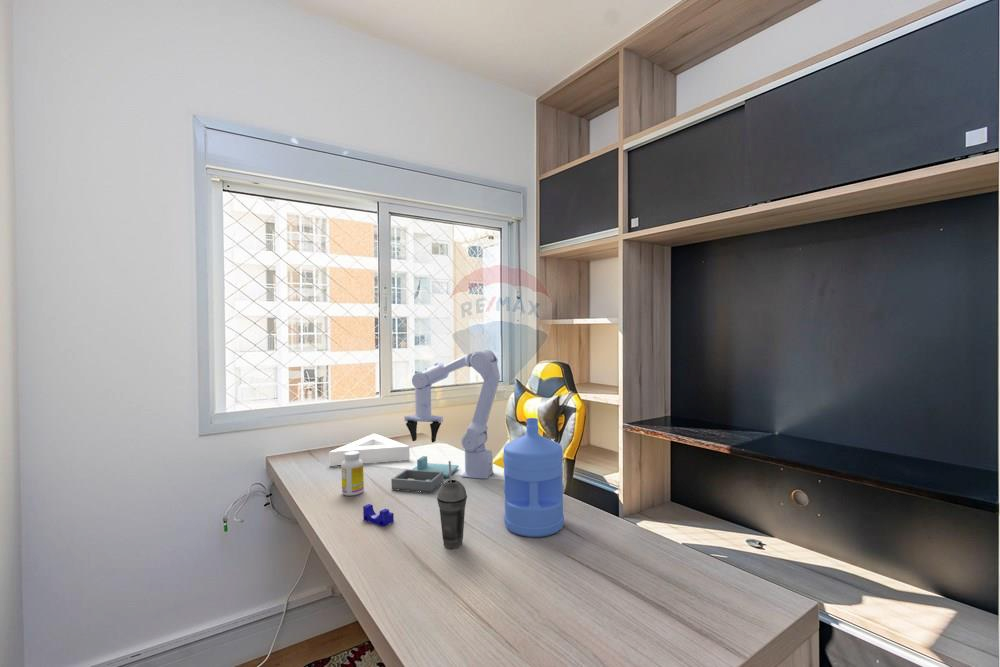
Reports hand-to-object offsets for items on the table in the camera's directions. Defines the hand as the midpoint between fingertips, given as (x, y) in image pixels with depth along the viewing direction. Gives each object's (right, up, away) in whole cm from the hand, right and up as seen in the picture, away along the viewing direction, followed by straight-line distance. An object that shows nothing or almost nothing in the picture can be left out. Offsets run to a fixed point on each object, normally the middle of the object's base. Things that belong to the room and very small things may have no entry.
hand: (424, 441), depth 168 cm
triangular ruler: (-25, -11, +21) cm, 35 cm away
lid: (+4, -10, -4) cm, 11 cm away
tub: (+1, -11, -17) cm, 20 cm away
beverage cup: (+17, -12, -58) cm, 61 cm away
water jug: (+37, -11, -48) cm, 62 cm away
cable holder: (-5, -12, -44) cm, 45 cm away
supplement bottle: (-19, -12, -22) cm, 31 cm away
